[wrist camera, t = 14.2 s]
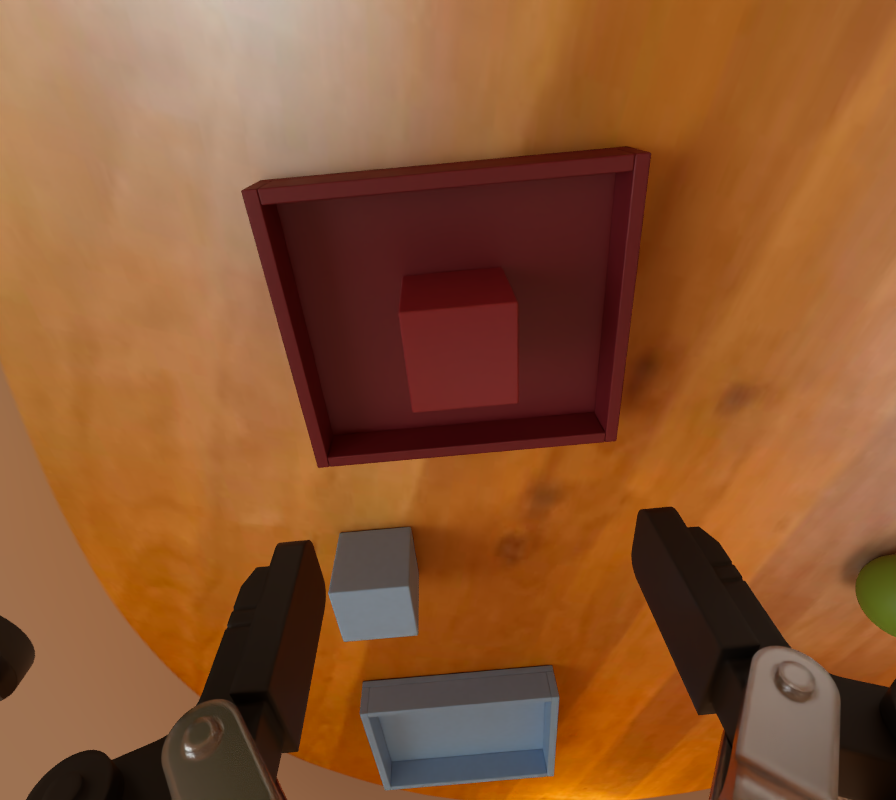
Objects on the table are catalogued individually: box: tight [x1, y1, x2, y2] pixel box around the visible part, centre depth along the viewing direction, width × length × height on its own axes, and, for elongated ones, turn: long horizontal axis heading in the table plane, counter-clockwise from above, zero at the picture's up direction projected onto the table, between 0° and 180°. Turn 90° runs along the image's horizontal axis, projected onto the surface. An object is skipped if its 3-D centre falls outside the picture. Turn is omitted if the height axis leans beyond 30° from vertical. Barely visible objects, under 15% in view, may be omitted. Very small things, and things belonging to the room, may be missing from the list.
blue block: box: [328, 527, 419, 642], centre depth 30 cm, size 4×4×4 cm
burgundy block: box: [398, 267, 519, 413], centre depth 22 cm, size 4×4×4 cm
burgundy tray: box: [241, 147, 651, 468], centre depth 23 cm, size 15×13×2 cm
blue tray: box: [360, 665, 559, 790], centre depth 42 cm, size 15×13×2 cm
